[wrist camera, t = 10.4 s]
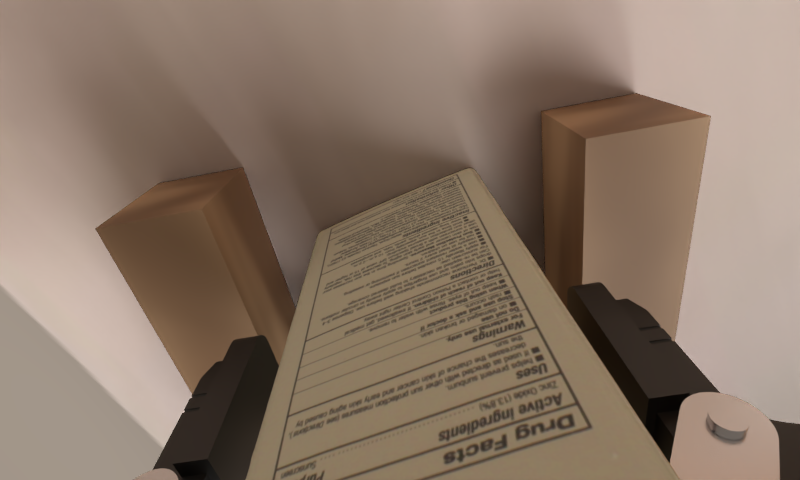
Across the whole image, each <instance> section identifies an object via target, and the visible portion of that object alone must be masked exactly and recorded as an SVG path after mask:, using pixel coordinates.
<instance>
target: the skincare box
mask: <svg viewBox="0 0 800 480" xmlns="http://www.w3.org/2000/svg"><path fill="white" fill-rule="evenodd" d="M246 480H680V478H679V477H678V475H677V474H676V472H675V471H674V469H673V468H672V466H671V465H670V463H669V462H668V460H667V459H666V457H665V456H664V454H663V453H662V451H661V450H660V448H659V447H658V445H657V444H656V442H655V441H654V439H653V438H652V436H651V435H650V433H649V432H648V431H647V429H646V428H645V426H644V425H643V423H642V422H641V420H640V419H639V417H638V415H637V414H636V412H635V411H634V409H633V408H632V406H631V405H630V403H629V402H628V400H627V399H626V397H625V396H624V394H623V393H622V391H621V390H620V388H619V386H618V385H617V383H616V382H615V380H614V379H613V377H612V376H611V374H610V373H609V371H608V370H607V368H606V367H605V365H604V364H603V362H602V361H601V359H600V358H599V356H598V355H597V353H596V352H595V350H594V349H593V347H592V346H591V344H590V343H589V341H588V340H587V338H586V337H585V335H584V334H583V332H582V331H581V329H580V328H579V326H578V325H577V323H576V322H575V320H574V319H573V317H572V316H571V314H570V313H569V311H568V310H567V308H566V307H565V305H564V304H563V302H562V301H561V299H560V298H559V296H558V295H557V293H556V292H555V290H554V289H553V287H552V285H551V284H550V282H549V281H548V279H547V278H546V276H545V275H544V273H543V272H542V270H541V269H540V267H539V265H538V264H537V262H536V261H535V259H534V258H533V256H532V255H531V253H530V252H529V251H528V249H527V248H526V246H525V245H524V243H523V242H522V240H521V239H520V237H519V236H518V234H517V233H516V231H515V230H514V228H513V227H512V225H511V224H510V222H509V220H508V219H507V217H506V216H505V215H504V213H503V211H502V209H501V208H500V206H499V205H498V203H497V202H496V200H495V199H494V197H493V196H492V195H491V193H490V192H489V190H488V189H487V187H486V186H485V184H484V183H483V181H482V180H481V178H480V177H479V175H478V173H477V172H476V171H475V170H474V169H472V168H468V169H464V170H462V171H459V172H457V173H454V174H452V175H449V176H446V177H444V178H441V179H439V180H436V181H434V182H431V183H429V184H426V185H424V186H422V187H419V188H417V189H414V190H412V191H410V192H407V193H405V194H403V195H400V196H398V197H396V198H393V199H391V200H389V201H386V202H384V203H382V204H380V205H377V206H375V207H373V208H371V209H368V210H366V211H364V212H362V213H360V214H357V215H355V216H353V217H351V218H349V219H346V220H344V221H342V222H340V223H338V224H336V225H334V226H332V227H330V228H327V229H325V230H323V231H321V232H320V233H319V234H318V235H317V239H316V242H315V246H314V249H313V252H312V256H311V259H310V262H309V266H308V269H307V273H306V276H305V279H304V283H303V286H302V290H301V293H300V297H299V300H298V303H297V307H296V310H295V314H294V317H293V320H292V323H291V327H290V330H289V334H288V337H287V341H286V345H285V348H284V351H283V355H282V358H281V361H280V365H279V368H278V371H277V375H276V378H275V381H274V385H273V388H272V392H271V395H270V398H269V401H268V404H267V408H266V412H265V415H264V419H263V422H262V425H261V429H260V432H259V436H258V439H257V442H256V445H255V449H254V452H253V455H252V458H251V462H250V467H249V470H248V474H247V477H246Z"/></svg>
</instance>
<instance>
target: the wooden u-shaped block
mask: <svg viewBox="0 0 800 480" xmlns="http://www.w3.org/2000/svg"><path fill="white" fill-rule="evenodd" d="M710 118H711V116H709V115H706V114H702V113H699V112H696V111H693V110H689V109H686V108H683V107H680V106H676V105H673V104H670V103H666V102H663V101H660V100H657V99H653V98H650V97H647V96H644V95H640V94H637V93H635V94H630V95H625V96H619V97H614V98H609V99H603V100H598V101H593V102H587V103H582V104H577V105H571V106H566V107H561V108H556V109H550V110H545V111H541V128H542V168H543V207H544V247H545V276H546V278H547V279H548V281H549V282H550V284H551V285H552V287H553V289H554V290H555V292H556V293H557V295H558V296H559V298H560V299H561V301H562V302H563V304H564V305H565V307H566V308H567V292H568V288H569V287H571V286H577V285H583V284H589V283H596V282H601V283H602V284H603V285H604V286H605V287H606V288H607V289H608V291H609V292H610V293H611V294H612V296H613V297H614V298H615V299H616V300H620V299H626V298H627V299H629V300H631V301H632V302H634V303H636V304H638V305H639V306H641V307H643V308H644V309H646V310H647V311H648V312H649V313H650V314H651V315H652V316H653V317H654V318H655V320H656V321H657V322H658V323H659V324H660V327H661V328H663V329H664V330H665V331H666V332H667V333H668V334H669V336H670V337H671V338H672V341H675V336H676V330H677V324H678V318H679V311H680V305H681V299H682V293H683V286H684V280H685V274H686V268H687V262H688V255H689V249H690V243H691V237H692V230H693V224H694V218H695V212H696V206H697V199H698V193H699V187H700V181H701V174H702V168H703V162H704V156H705V149H706V143H707V137H708V131H709V125H710ZM96 231H97V232H98V234H99V236H100V237H101V239H102V241H103V243H104V244H105V246H106V248H107V249H108V251H109V253H110V255H111V256H112V258H113V260H114V261H115V263H116V265H117V266H118V268H119V270H120V272H121V273H122V275H123V277H124V278H125V280H126V282H127V284H128V285H129V287H130V289H131V290H132V292H133V294H134V295H135V297H136V299H137V301H138V302H139V304H140V306H141V307H142V309H143V311H144V313H145V314H146V316H147V318H148V319H149V321H150V323H151V324H152V326H153V328H154V330H155V331H156V333H157V335H158V336H159V338H160V340H161V342H162V343H163V345H164V347H165V348H166V350H167V352H168V353H169V355H170V357H171V359H172V360H173V362H174V364H175V365H176V367H177V369H178V371H179V372H180V374H181V376H182V377H183V379H184V381H185V382H186V384H187V386H188V388H189V389H190V391H191V393H192V394H193V392H194V390H195V388H196V386H197V385H198V383H199V381H200V379H201V377H202V376H203V375H204V374H205V373H206V372H207V371H208V370H209V369H210V368H211V367H212V366H213V365H214V364H215V363H216V362H218V361H223V359H224V357H225V355H226V353H227V351H228V349H229V347H230V345H231V343H232V342H233V340H235V339H240V338H246V337H253V336H259V335H264V336H265V337H266V338H267V340H268V342H269V344H270V346H271V349H272V351H273V353H274V356H275V358H276V360H277V363H278V365H280V361H281V358H282V355H283V351H284V348H285V345H286V341H287V337H288V334H289V330H290V327H291V323H292V320H293V317H294V314H295V310H296V308H295V306H294V303H293V300H292V298H291V295H290V292H289V290H288V287H287V284H286V282H285V279H284V276H283V274H282V271H281V268H280V266H279V263H278V260H277V258H276V255H275V252H274V250H273V247H272V244H271V241H270V239H269V236H268V233H267V231H266V228H265V225H264V223H263V220H262V217H261V215H260V212H259V209H258V207H257V204H256V201H255V199H254V196H253V193H252V191H251V188H250V185H249V183H248V180H247V177H246V174H245V172H244V169H243V168H237V169H232V170H227V171H221V172H216V173H211V174H206V175H200V176H195V177H190V178H184V179H179V180H174V181H168V182H163V183H159V184H157V185H156V186H154V187H153V188H152V189H150V190H149V191H147V192H146V193H145V194H143V195H142V196H140V197H139V198H138V199H136V200H135V201H133V202H132V203H131V204H129V205H128V206H126V207H125V208H124V209H122V210H121V211H119V212H118V213H117V214H115V215H114V216H112V217H111V218H110V219H108V220H107V221H105V222H104V223H103V224H101V225H100V226H98V227H97V228H96Z"/></svg>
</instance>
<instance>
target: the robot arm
mask: <svg viewBox="0 0 800 480" xmlns="http://www.w3.org/2000/svg"><path fill="white" fill-rule="evenodd" d="M567 310H568V311H569V313H570V314H571V316H572V317H573V319H574V320H575V322H576V323H577V325H578V326H579V328H580V329H581V331H582V332H583V334H584V335H585V337H586V338H587V340H588V341H589V343H590V344H591V346H592V347H593V349H594V350H595V352H596V353H597V355H598V356H599V358H600V359H601V361H602V362H603V364H604V365H605V367H606V368H607V370H608V371H609V373H610V374H611V376H612V377H613V379H614V380H615V382H616V383H617V385H618V386H619V388H620V390H621V391H622V393H623V394H624V396H625V397H626V399H627V400H628V402H629V403H630V405H631V406H632V408H633V409H634V411H635V412H636V414H637V415H638V417H639V419H640V420H641V422H642V423H643V425H644V426H645V428H646V429H647V431H648V432H649V433H650V435H651V436H652V438H653V439H654V441H655V442H656V444H657V445H658V447H659V448H660V450H661V451H662V453H663V454H664V456H665V457H666V459H667V460H668V462H669V463H670V465H671V466H672V468H673V469H674V471H675V472H676V474H677V475H678V477H679V478H680V480H800V424H794V423H786V422H779V421H774V420H770V419H768V418H767V417H766V416H765V415H764V414H763V413H762V412H761V411H760V410H758V409H757V408H755V407H754V406H752V405H751V404H749V403H747V402H745V401H743V400H741V399H739V398H736V397H733V396H730V395H727V394H722V393H720V392H719V391H718V390H717V389H716V388H715V387H714V386H713V385H712V383H711V382H710V381H709V380H708V379H707V378H706V377H705V375H704V374H703V373H702V372H701V371H700V370H699V369H698V367H697V366H696V365H695V364H694V363H693V362H692V361H691V359H690V358H689V357H688V356H687V355H686V354H685V353H684V352H683V350H682V349H681V348H680V347H679V346H678V345H677V344H676V342H675V341H672V338H671V337H670V336H669V334H668V333H667V332H666V331H665V330H664V329H663V328H661V327H660V324H659V323H658V322H657V321H656V320H655V318H654V317H653V316H652V315H651V314H650V313H649V312H648V311H647V310H646V309H644V308H643V307H641V306H639V305H638V304H636V303H634V302H632V301H631V300H629V299H627V298H626V299H620V300H616V299H615V298H614V297H613V296H612V294H611V293H610V292H609V291H608V289H607V288H606V287H605V286H604V285H603V284H602V283H601V282H596V283H589V284H583V285H577V286H571V287H569V288H568V292H567ZM278 368H279V365H278V363H277V360H276V358H275V356H274V353H273V351H272V349H271V346H270V344H269V342H268V340H267V338H266V337H265V336H264V335H259V336H253V337H246V338H240V339H235V340H233V342H232V343H231V345H230V347H229V349H228V351H227V353H226V355H225V357H224V359H223V361H218V362H216V363H215V364H214V365H213V366H212V367H211V368H210V369H209V370H208V371H207V372H206V373H205V374H204V375H203V376H202V377H201V379H200V381H199V383H198V385H197V386H196V388H195V390H194V392H193V394H192V398H191V399H190V400H189V402H188V404H187V405H186V407H185V409H184V410H185V412H184V413H182V415H181V417H180V419H179V421H178V423H177V424H176V426H175V428H174V430H173V432H172V434H171V436H170V438H169V440H168V442H167V443H166V445H165V447H164V449H163V451H162V453H161V455H160V457H159V459H158V461H157V463H156V464H155V466H154V468H153V470H151V471H148V472H146V473H144V474H142V475H140V476H138V477H137V478H135V479H134V480H246V477H247V474H248V470H249V467H250V462H251V458H252V455H253V452H254V449H255V445H256V442H257V439H258V436H259V432H260V429H261V425H262V422H263V419H264V415H265V412H266V408H267V404H268V401H269V398H270V395H271V392H272V388H273V385H274V381H275V378H276V375H277V371H278Z"/></svg>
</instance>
